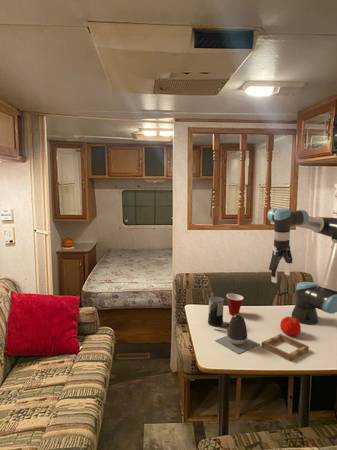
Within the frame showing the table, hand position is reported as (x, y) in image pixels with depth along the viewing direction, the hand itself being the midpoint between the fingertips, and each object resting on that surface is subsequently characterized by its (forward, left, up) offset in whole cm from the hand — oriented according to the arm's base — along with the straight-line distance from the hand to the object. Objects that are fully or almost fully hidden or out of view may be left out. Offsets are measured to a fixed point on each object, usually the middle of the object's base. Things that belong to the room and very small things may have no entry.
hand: (280, 278), depth 165 cm
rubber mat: (+22, -9, -33) cm, 41 cm away
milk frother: (+13, -29, -33) cm, 46 cm away
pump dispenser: (+22, -9, -33) cm, 41 cm away
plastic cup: (-5, -35, -33) cm, 49 cm away
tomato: (-10, +1, -33) cm, 35 cm away
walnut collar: (+7, +9, -33) cm, 35 cm away
